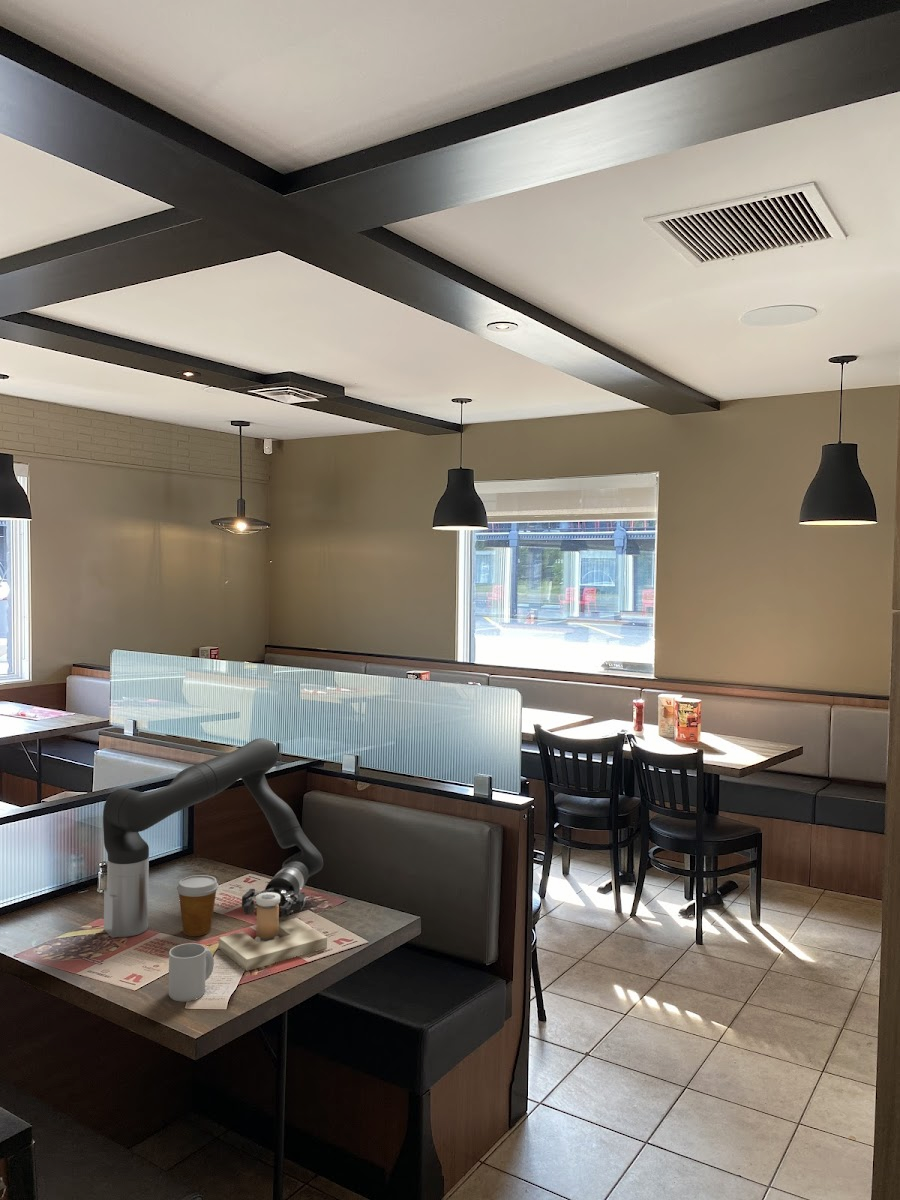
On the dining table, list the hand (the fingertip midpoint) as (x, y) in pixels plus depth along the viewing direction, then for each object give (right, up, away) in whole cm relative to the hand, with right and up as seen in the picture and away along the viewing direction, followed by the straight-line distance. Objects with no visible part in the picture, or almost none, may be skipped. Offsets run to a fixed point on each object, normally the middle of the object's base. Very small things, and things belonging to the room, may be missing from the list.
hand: (264, 911), depth 207 cm
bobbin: (0, -8, +2) cm, 8 cm away
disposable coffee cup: (-18, -8, +8) cm, 21 cm away
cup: (-10, -9, -22) cm, 26 cm away
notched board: (+2, -8, 0) cm, 8 cm away
